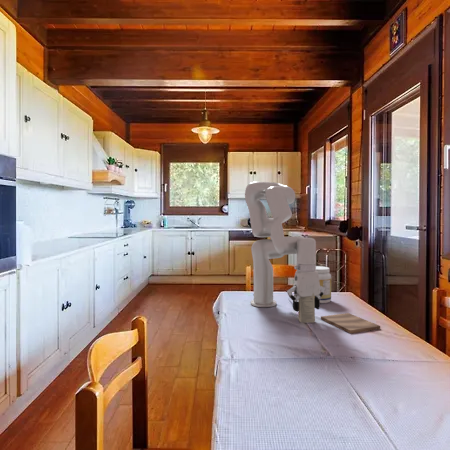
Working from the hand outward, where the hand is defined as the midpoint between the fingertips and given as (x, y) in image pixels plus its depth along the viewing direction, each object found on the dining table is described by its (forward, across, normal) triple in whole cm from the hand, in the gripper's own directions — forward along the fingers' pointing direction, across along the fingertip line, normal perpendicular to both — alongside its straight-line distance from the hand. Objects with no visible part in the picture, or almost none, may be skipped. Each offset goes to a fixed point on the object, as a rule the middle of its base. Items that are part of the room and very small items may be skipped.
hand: (306, 309), depth 138 cm
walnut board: (+5, +14, -9) cm, 17 cm away
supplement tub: (+5, +24, +26) cm, 36 cm away
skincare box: (+5, 0, 0) cm, 5 cm away
